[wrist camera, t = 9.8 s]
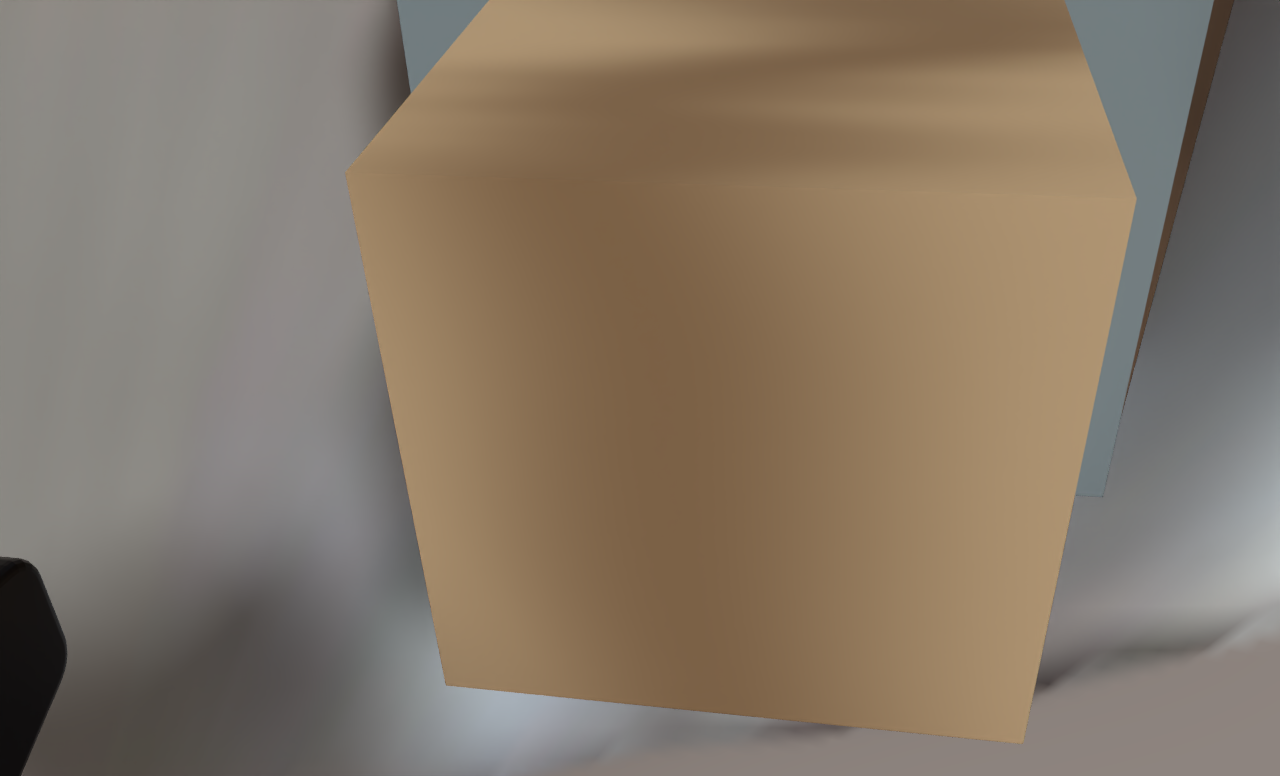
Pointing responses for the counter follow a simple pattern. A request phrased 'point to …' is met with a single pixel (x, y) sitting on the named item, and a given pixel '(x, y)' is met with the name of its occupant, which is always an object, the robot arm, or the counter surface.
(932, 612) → the oak block
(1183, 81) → the tower top
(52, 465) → the counter surface
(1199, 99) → the tower base
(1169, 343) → the counter surface
